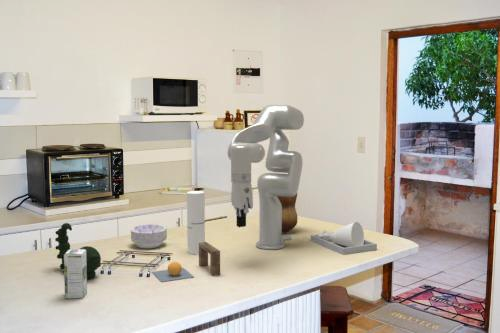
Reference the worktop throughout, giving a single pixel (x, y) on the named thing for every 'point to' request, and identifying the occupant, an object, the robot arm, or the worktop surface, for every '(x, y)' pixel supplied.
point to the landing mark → (165, 275)
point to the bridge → (214, 257)
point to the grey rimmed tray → (348, 250)
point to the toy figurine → (91, 253)
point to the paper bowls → (148, 235)
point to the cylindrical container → (195, 220)
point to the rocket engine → (346, 235)
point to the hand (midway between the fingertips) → (241, 226)
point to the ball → (174, 268)
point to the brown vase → (288, 212)
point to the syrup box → (75, 273)
